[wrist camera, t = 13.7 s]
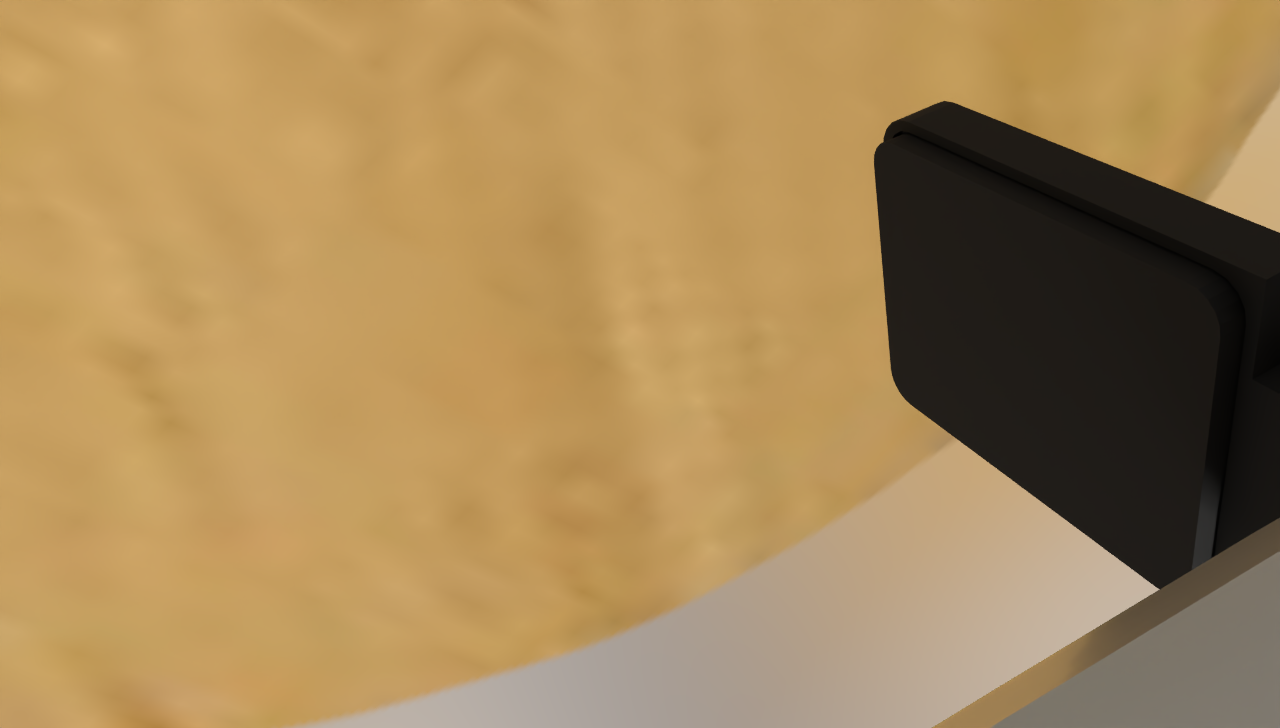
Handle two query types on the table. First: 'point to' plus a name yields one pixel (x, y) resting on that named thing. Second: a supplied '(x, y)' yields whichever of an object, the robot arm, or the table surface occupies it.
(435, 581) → the table surface
